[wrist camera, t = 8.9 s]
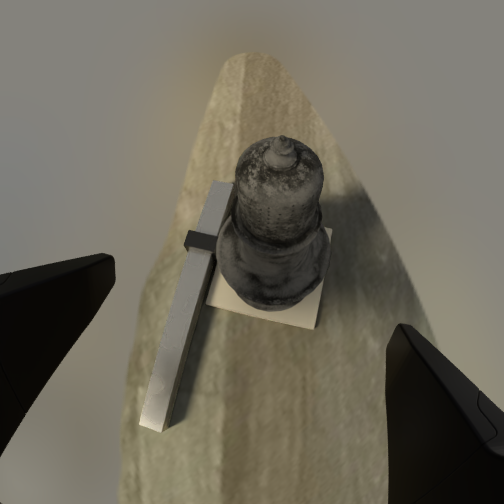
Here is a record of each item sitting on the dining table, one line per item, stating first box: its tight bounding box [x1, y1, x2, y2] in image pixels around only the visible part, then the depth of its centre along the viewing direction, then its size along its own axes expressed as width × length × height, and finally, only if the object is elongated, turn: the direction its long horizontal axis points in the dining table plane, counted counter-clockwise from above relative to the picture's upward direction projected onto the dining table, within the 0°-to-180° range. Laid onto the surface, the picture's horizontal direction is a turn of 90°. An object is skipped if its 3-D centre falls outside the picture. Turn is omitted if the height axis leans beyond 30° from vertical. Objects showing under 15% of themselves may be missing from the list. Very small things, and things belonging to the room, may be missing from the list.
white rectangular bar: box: [139, 180, 235, 433], centre depth 18 cm, size 16×2×2 cm, turn 166°
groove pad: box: [206, 227, 332, 330], centre depth 20 cm, size 7×7×1 cm
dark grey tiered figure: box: [216, 135, 331, 312], centre depth 14 cm, size 6×6×12 cm
